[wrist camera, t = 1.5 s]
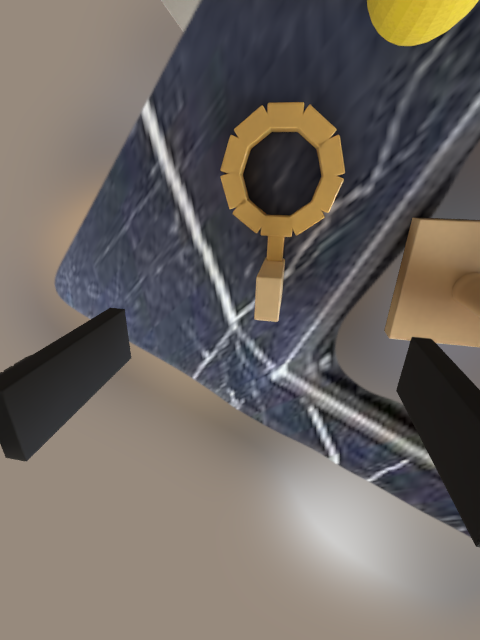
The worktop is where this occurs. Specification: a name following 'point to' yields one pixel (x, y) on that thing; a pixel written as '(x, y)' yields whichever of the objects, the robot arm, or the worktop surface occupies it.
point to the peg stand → (438, 283)
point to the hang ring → (280, 226)
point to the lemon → (416, 18)
